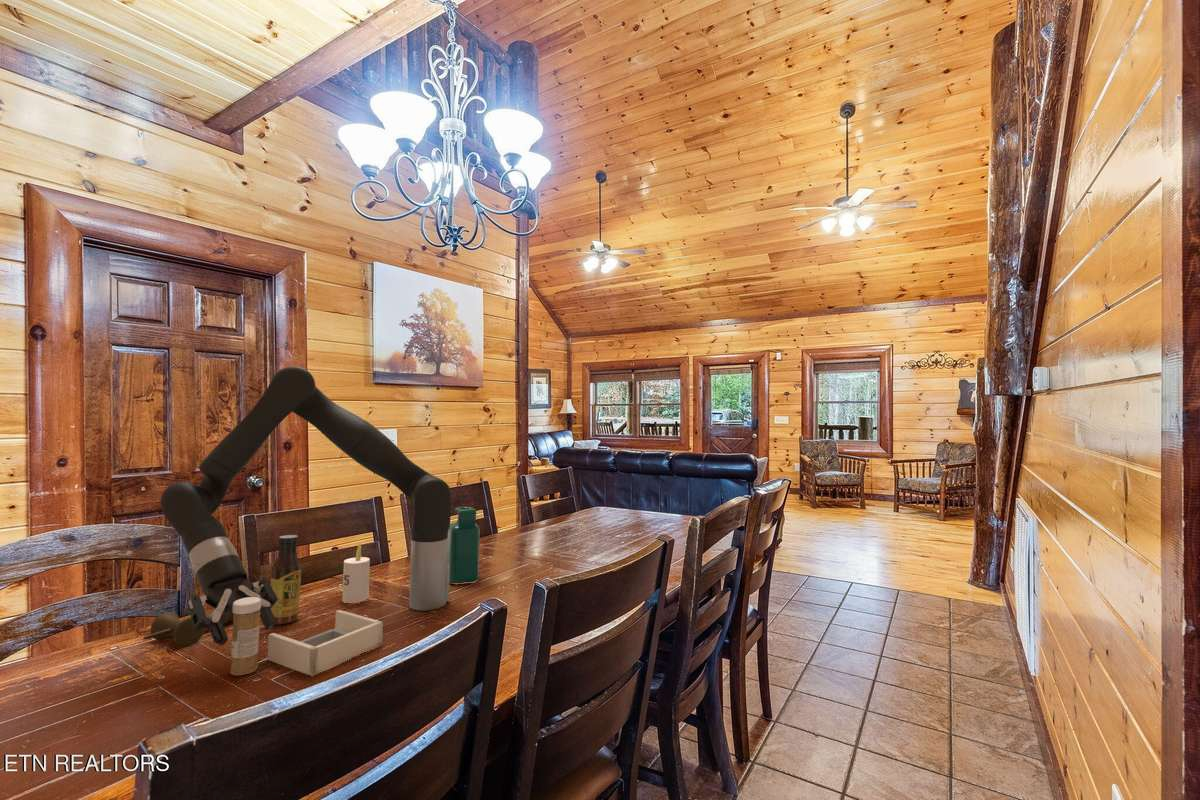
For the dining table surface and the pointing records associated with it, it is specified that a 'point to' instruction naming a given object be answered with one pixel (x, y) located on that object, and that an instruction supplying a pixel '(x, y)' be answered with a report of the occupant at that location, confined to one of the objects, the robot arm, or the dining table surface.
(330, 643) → the caddy
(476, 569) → the green bottle
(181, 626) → the kendama
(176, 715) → the dining table surface
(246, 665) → the sprinkles bottle
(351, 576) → the candle
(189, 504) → the robot arm
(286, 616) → the sauce bottle
